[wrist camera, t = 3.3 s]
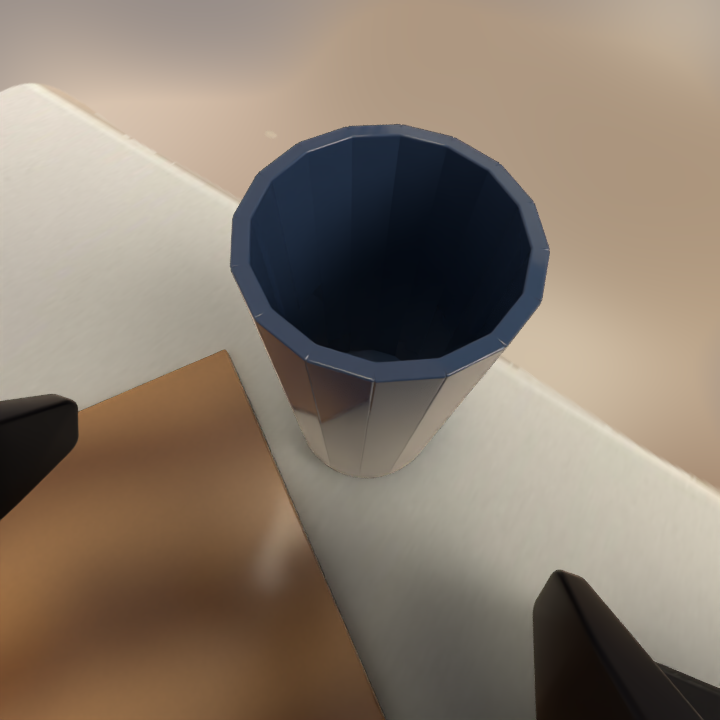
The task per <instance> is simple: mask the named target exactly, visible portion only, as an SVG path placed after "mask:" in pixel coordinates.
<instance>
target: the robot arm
mask: <svg viewBox="0 0 720 720" xmlns="http://www.w3.org/2000/svg"><path fill="white" fill-rule="evenodd" d="M78 437H79V429H78V406H77V404H76V402H74V401H73V400H71V399H68V398H66V397H63V396H60V395H56V394H48V395H40V396H33V397H26V398H19V399H12V400H5V401H0V520H2V519H3V518H4V517H5V516H6V515H7V514H8V513H9V512H10V511H11V510H12V509H13V508H14V507H16V506H17V505H18V504H19V503H20V502H21V501H22V500H23V499H24V498H25V497H26V496H27V495H28V494H29V493H30V492H31V491H32V490H33V489H34V488H35V487H36V486H37V485H38V484H39V483H40V482H41V481H42V480H43V479H44V478H45V477H46V476H47V475H48V474H49V473H50V472H51V471H52V470H53V469H54V468H55V467H56V466H57V465H58V464H59V463H60V462H61V461H62V460H63V459H64V458H65V457H66V456H67V455H68V454H69V453H70V452H71V451H72V450H73V448H74V447H75V445H76V443H77V441H78ZM533 644H534V675H535V704H536V720H703V719H702V718H701V716H700V715H699V714H698V713H697V712H696V710H695V709H694V708H693V707H692V706H691V705H690V703H689V702H688V701H687V700H686V699H685V697H684V696H683V695H682V694H681V693H680V691H679V690H678V689H677V688H676V687H675V686H674V684H673V683H672V682H671V681H670V680H669V678H668V677H667V676H666V675H665V674H664V673H663V671H662V670H661V669H660V668H659V667H658V665H657V664H656V663H655V662H654V661H653V660H652V658H651V657H650V656H649V655H648V654H647V652H646V651H645V650H644V649H643V648H642V647H641V645H640V644H639V643H638V642H637V641H636V639H635V638H634V637H633V636H632V635H631V634H630V632H629V631H628V630H627V629H626V628H625V626H624V625H623V624H622V623H621V622H620V621H619V619H618V618H617V617H616V616H615V615H614V613H613V612H612V611H611V610H610V609H609V608H608V606H607V605H606V604H605V603H604V602H603V600H602V599H601V598H600V597H599V596H598V595H597V593H596V592H595V591H594V590H593V589H592V587H591V586H590V585H589V584H588V583H587V582H586V581H585V579H583V578H582V577H580V576H578V575H575V574H572V573H569V572H566V571H563V570H556V571H554V572H553V573H552V574H551V576H550V578H549V579H548V581H547V583H546V584H545V586H544V588H543V589H542V591H541V593H540V594H539V596H538V598H537V599H536V602H535V604H534V608H533Z"/></svg>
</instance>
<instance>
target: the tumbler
mask: <svg viewBox="0 0 720 720" xmlns="http://www.w3.org/2000/svg"><path fill="white" fill-rule="evenodd" d="M549 254H550V251H549V245H548V242H547V239H546V236H545V233H544V230H543V227H542V224H541V221H540V218H539V215H538V212H537V209H536V206H535V203H533V200H532V199H531V198H530V197H529V195H528V194H527V193H526V192H525V191H524V190H523V189H522V188H521V186H520V185H519V184H518V183H517V182H516V181H515V180H514V179H513V177H512V176H511V175H510V174H509V173H508V172H507V170H506V169H505V168H504V167H503V166H502V165H501V164H499V162H497V161H495V160H494V159H492V158H490V157H488V156H487V155H485V154H483V153H481V152H480V151H478V150H476V149H474V148H473V147H471V146H469V145H468V144H465V143H464V142H462V141H461V140H458V139H457V138H453V137H452V136H449V135H444V134H440V133H436V132H432V131H428V130H424V129H419V128H415V127H411V126H407V125H400V124H394V125H363V126H349V127H343V128H340V129H337V130H334V131H331V132H328V133H325V134H323V135H319V136H316V137H314V138H310V139H307V140H304V141H301V142H299V143H298V144H295V145H294V146H293V147H291V148H290V149H289V150H287V151H286V152H285V153H283V154H282V155H281V156H279V157H278V158H277V159H276V160H274V161H273V162H272V163H270V164H269V165H268V166H266V167H265V168H264V169H262V170H261V171H260V172H259V173H258V174H257V175H256V176H255V178H254V180H253V182H252V184H251V185H250V187H249V189H248V191H247V192H246V194H245V196H244V197H243V199H242V201H241V203H240V204H239V206H238V208H237V210H236V211H235V213H234V215H233V218H232V234H231V255H230V268H231V272H232V275H233V277H234V279H235V282H236V284H237V286H238V288H239V291H240V293H241V295H242V297H243V300H244V302H245V304H246V307H247V309H248V311H249V313H250V316H251V318H252V320H253V322H254V325H255V327H256V329H257V332H258V334H259V336H260V338H261V341H262V343H263V345H264V347H265V350H266V352H267V354H268V357H269V359H270V361H271V363H272V366H273V368H274V370H275V372H276V375H277V377H278V379H279V381H280V384H281V386H282V388H283V391H284V393H285V395H286V397H287V400H288V402H289V404H290V406H291V409H292V411H293V413H294V416H295V418H296V420H297V422H298V425H299V427H300V429H301V431H302V433H303V435H304V438H305V440H306V442H307V444H308V446H309V448H310V449H311V450H312V451H313V453H314V454H315V455H316V456H317V457H318V458H319V459H320V460H321V461H322V462H323V463H324V464H326V465H327V466H328V467H330V468H332V469H333V470H335V471H337V472H340V473H342V474H344V475H348V476H352V477H357V478H376V477H382V476H386V475H389V474H392V473H394V472H396V471H398V470H400V469H402V468H403V467H405V466H407V465H408V464H409V463H410V462H412V461H413V460H414V459H415V458H416V457H417V456H418V455H419V453H420V452H421V451H422V450H423V449H424V447H425V446H426V445H427V444H428V443H429V441H430V440H431V439H432V438H433V436H434V435H435V434H436V433H437V432H438V430H439V429H440V428H441V427H442V426H443V424H444V423H445V422H446V421H447V419H448V418H449V417H450V416H451V415H452V413H453V412H454V411H455V410H456V409H457V407H458V406H459V405H460V404H461V403H462V401H463V400H464V399H465V398H466V396H467V395H468V394H469V393H470V392H471V390H472V389H473V388H474V387H475V386H476V384H477V383H478V382H479V381H480V379H481V378H482V377H483V376H484V375H485V373H486V372H487V371H488V370H489V369H490V367H491V366H492V365H493V364H494V363H495V361H496V360H497V359H498V358H499V356H500V355H501V354H502V353H503V352H504V350H505V349H506V348H507V347H508V345H509V344H510V343H511V342H512V340H513V339H514V338H515V336H516V335H517V334H518V333H519V331H520V330H521V329H522V327H523V326H524V325H525V323H526V322H527V321H528V320H529V318H530V317H531V316H532V314H533V313H534V312H535V311H536V309H537V308H538V307H539V305H540V303H541V301H542V298H543V291H544V285H545V279H546V273H547V267H548V261H549Z"/></svg>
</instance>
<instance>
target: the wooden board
mask: <svg viewBox="0 0 720 720" xmlns="http://www.w3.org/2000/svg"><path fill="white" fill-rule="evenodd" d="M78 429H79V437H78V441H77V443H76V445H75V447H74V448H73V450H72V451H71V452H70V453H69V454H68V455H67V456H66V457H65V458H64V459H63V460H62V461H61V462H60V463H59V464H58V465H57V466H56V467H55V468H54V469H53V470H52V471H51V472H50V473H49V474H48V475H47V476H46V477H45V478H44V479H43V480H42V481H41V482H40V483H39V484H38V485H37V486H36V487H35V488H34V489H33V490H32V491H31V492H30V493H29V494H28V495H27V496H26V497H25V498H24V499H23V500H22V501H21V502H20V503H19V504H18V505H17V506H16V507H14V508H13V509H12V510H11V511H10V512H9V513H8V514H7V515H6V516H5V517H4V518H3V519H2V520H0V720H386V719H385V717H384V714H383V712H382V710H381V707H380V705H379V703H378V700H377V698H376V696H375V693H374V691H373V689H372V686H371V684H370V682H369V679H368V677H367V675H366V672H365V670H364V668H363V665H362V663H361V661H360V658H359V656H358V654H357V651H356V649H355V647H354V644H353V642H352V640H351V638H350V635H349V633H348V631H347V628H346V626H345V624H344V621H343V619H342V617H341V614H340V612H339V610H338V607H337V605H336V603H335V600H334V598H333V596H332V593H331V591H330V589H329V586H328V584H327V582H326V579H325V577H324V575H323V572H322V570H321V568H320V565H319V563H318V561H317V558H316V556H315V554H314V551H313V549H312V547H311V544H310V542H309V540H308V537H307V535H306V533H305V530H304V528H303V526H302V524H301V521H300V519H299V517H298V514H297V512H296V510H295V507H294V505H293V503H292V500H291V498H290V496H289V493H288V491H287V489H286V486H285V484H284V482H283V479H282V477H281V475H280V472H279V470H278V468H277V465H276V463H275V461H274V458H273V456H272V454H271V451H270V449H269V447H268V444H267V442H266V440H265V437H264V435H263V433H262V430H261V428H260V426H259V423H258V421H257V419H256V416H255V414H254V412H253V410H252V407H251V405H250V403H249V400H248V398H247V396H246V393H245V391H244V389H243V386H242V384H241V382H240V379H239V377H238V375H237V372H236V370H235V368H234V365H233V363H232V361H231V358H230V356H229V354H228V352H227V351H226V350H222V351H220V352H217V353H215V354H213V355H210V356H208V357H206V358H203V359H201V360H199V361H196V362H194V363H192V364H189V365H187V366H184V367H182V368H180V369H177V370H175V371H173V372H170V373H168V374H166V375H163V376H161V377H159V378H156V379H154V380H152V381H149V382H147V383H145V384H142V385H140V386H138V387H135V388H133V389H131V390H128V391H126V392H124V393H121V394H119V395H117V396H114V397H112V398H110V399H107V400H105V401H103V402H100V403H98V404H95V405H93V406H91V407H88V408H86V409H84V410H81V411H79V412H78Z"/></svg>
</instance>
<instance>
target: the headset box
mask: <svg viewBox="0 0 720 720" xmlns="http://www.w3.org/2000/svg"><path fill="white" fill-rule="evenodd" d="M654 662H655V661H654ZM655 663H656V664H657V665H658V667H659V668H660V669H661V670H662V671H663V673H664V674H665V675H666V676H667V677H668V678H669V680H670V681H671V682H672V683H673V684H674V686H675V687H676V688H677V689H678V690H679V691H680V693H681V694H682V695H683V696H684V697H685V699H686V700H687V701H688V702H689V703H690V705H691V706H692V707H693V708H694V709H695V710H696V712H697V713H698V714H699V715H700V716H701V718H702V719H703V720H720V688H717V687H715V686H712V685H710V684H707V683H705V682H703V681H700V680H698V679H695V678H693V677H691V676H688V675H686V674H684V673H681V672H679V671H677V670H674V669H672V668H669V667H667V666H664V665H662V664H660V663H657V662H655Z"/></svg>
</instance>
